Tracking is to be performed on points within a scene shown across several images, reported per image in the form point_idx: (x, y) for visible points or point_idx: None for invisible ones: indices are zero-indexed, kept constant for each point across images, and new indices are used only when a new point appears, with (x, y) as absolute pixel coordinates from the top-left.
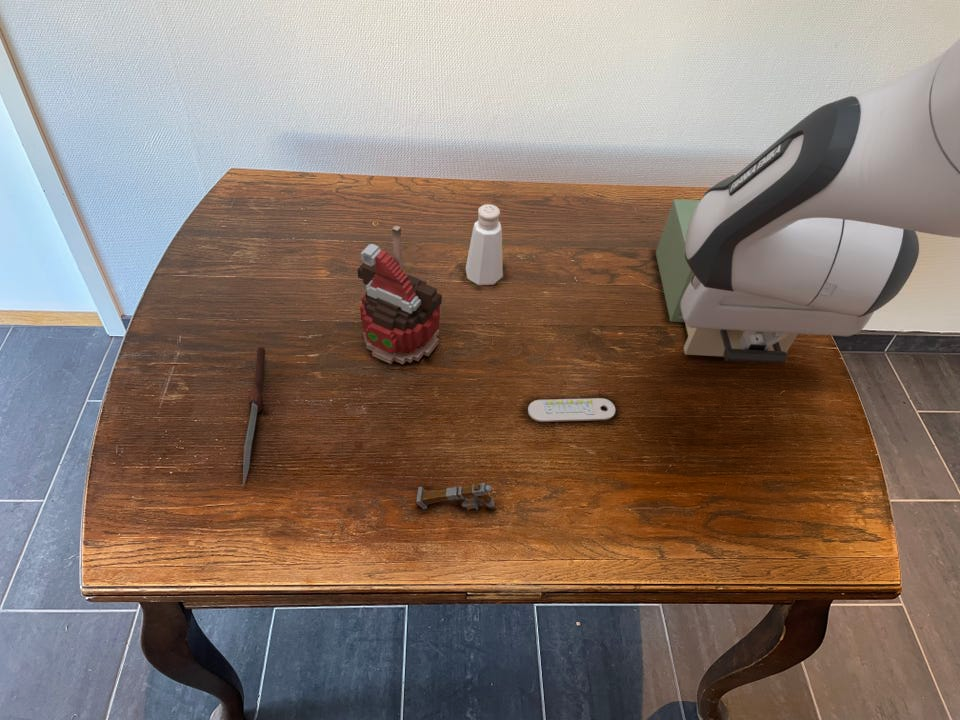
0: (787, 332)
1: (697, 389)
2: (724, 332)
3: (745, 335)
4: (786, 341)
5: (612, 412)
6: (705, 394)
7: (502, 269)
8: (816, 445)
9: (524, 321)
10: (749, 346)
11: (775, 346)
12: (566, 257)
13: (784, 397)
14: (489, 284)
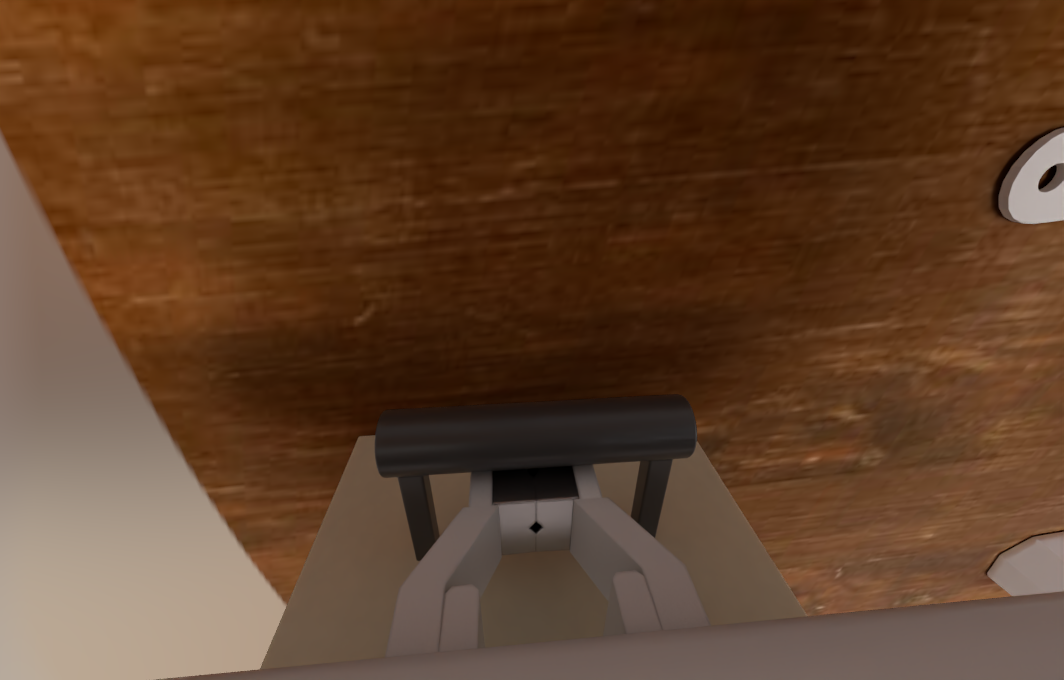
0: (413, 668)
1: (666, 297)
2: (651, 527)
3: (661, 558)
4: (354, 512)
5: (1036, 159)
6: (645, 279)
7: (1028, 578)
8: (217, 38)
9: (1034, 461)
10: (577, 482)
11: (426, 495)
12: (829, 611)
13: (357, 293)
14: (1046, 537)
